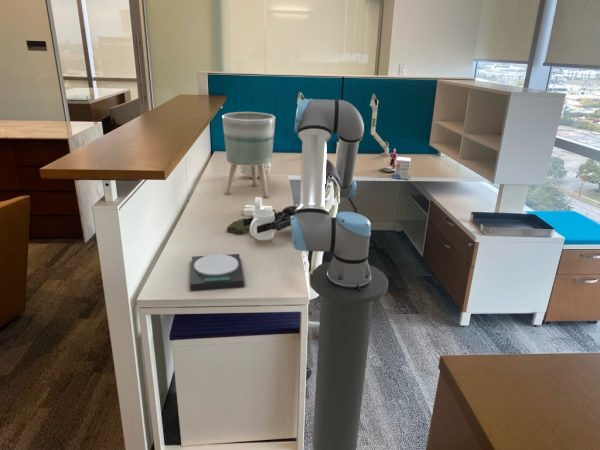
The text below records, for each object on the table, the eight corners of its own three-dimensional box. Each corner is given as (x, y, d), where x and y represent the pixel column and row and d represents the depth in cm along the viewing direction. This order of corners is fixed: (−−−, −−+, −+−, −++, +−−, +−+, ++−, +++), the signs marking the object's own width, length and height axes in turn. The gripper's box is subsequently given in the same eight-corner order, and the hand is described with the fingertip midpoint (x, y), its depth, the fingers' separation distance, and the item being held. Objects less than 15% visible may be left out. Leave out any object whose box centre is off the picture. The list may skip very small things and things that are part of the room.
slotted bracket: (243, 215, 207) (243, 199, 204) (245, 210, 213) (245, 194, 210) (271, 216, 206) (271, 200, 204) (272, 211, 213) (272, 195, 210)
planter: (276, 199, 228) (278, 120, 213) (224, 200, 224) (222, 119, 209) (271, 184, 253) (272, 112, 237) (224, 185, 249) (222, 111, 233)
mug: (257, 245, 171) (257, 220, 167) (242, 239, 176) (242, 215, 172) (278, 236, 180) (278, 212, 176) (263, 230, 185) (263, 207, 181)
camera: (240, 175, 268) (239, 149, 262) (269, 175, 270) (270, 149, 264) (240, 180, 258) (239, 153, 252) (271, 180, 260) (271, 153, 254)
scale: (243, 286, 147) (243, 278, 146) (190, 290, 143) (190, 281, 142) (239, 259, 165) (239, 251, 164) (192, 262, 161) (191, 254, 160)
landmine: (241, 215, 199) (270, 222, 193) (241, 221, 200) (270, 227, 194) (222, 225, 187) (253, 233, 181) (223, 231, 188) (253, 239, 182)
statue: (391, 170, 295) (395, 147, 291) (400, 173, 287) (405, 150, 283) (378, 169, 290) (382, 146, 285) (386, 173, 282) (391, 149, 278)
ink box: (394, 178, 273) (396, 159, 269) (394, 174, 281) (396, 156, 277) (408, 179, 272) (410, 160, 267) (408, 175, 279) (410, 157, 275)
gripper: (311, 230, 182) (267, 244, 167) (278, 215, 196) (235, 227, 182) (311, 212, 179) (267, 225, 165) (278, 199, 193) (235, 209, 179)
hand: (250, 226), depth 173 cm, fingers closed on mug, 8 cm apart
